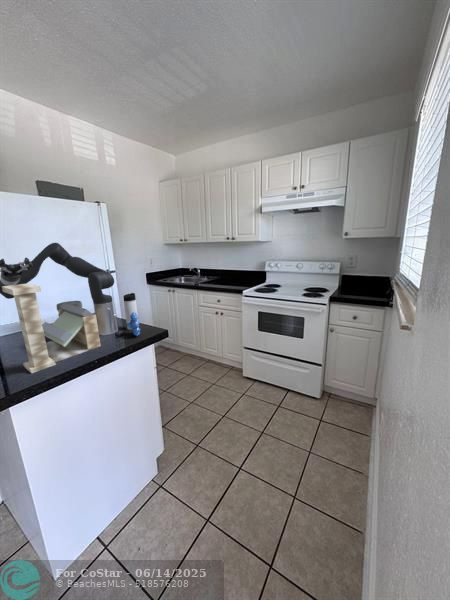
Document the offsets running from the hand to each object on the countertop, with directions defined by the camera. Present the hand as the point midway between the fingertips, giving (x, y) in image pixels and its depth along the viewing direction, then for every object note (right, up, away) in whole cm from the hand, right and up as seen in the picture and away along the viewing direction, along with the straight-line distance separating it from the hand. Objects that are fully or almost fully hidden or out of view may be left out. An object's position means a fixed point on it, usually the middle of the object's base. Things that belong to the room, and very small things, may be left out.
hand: (15, 259), depth 111 cm
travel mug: (+44, -35, +27) cm, 62 cm away
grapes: (+49, -37, +16) cm, 63 cm away
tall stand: (+21, -45, -13) cm, 51 cm away
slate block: (+20, -34, 0) cm, 39 cm away
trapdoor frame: (+22, -41, +3) cm, 46 cm away
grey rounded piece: (+8, -35, +30) cm, 47 cm away
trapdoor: (+23, -30, +2) cm, 38 cm away
